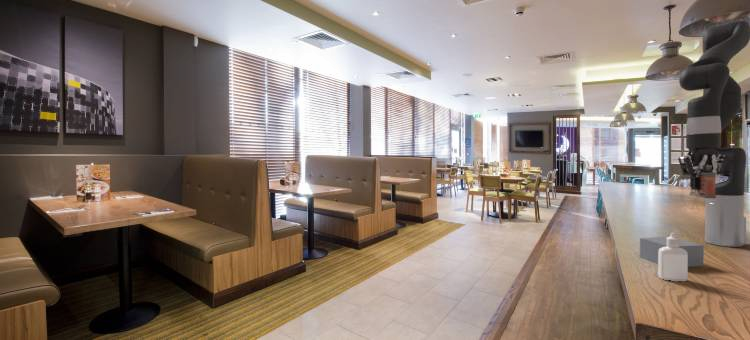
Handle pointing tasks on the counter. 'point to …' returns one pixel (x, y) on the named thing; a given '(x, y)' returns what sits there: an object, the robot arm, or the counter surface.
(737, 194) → the robot arm
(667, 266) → the eye dropper bottle
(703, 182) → the lighter
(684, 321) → the counter surface
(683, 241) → the pedestal block
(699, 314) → the counter surface
